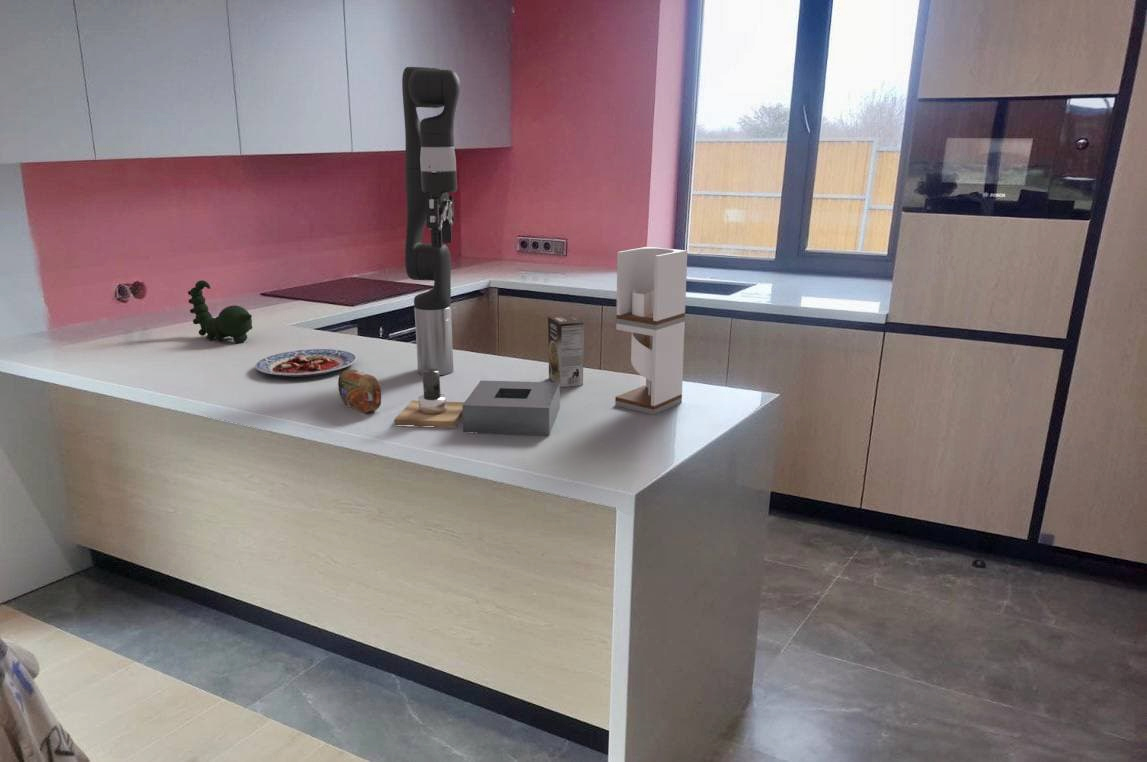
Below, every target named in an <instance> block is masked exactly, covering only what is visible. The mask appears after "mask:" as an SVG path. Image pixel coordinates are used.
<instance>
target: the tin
mask: <svg viewBox="0 0 1147 762" xmlns="http://www.w3.org/2000/svg"><path fill="white" fill-rule="evenodd" d="M337 382H338V383H337V387H338V393H339V396H340V399H341V401H342V403H343V404H344V405H346V404H347V405H349V406H351V407H350V408H352V407H353V408H352V409H354V408H356V409H355V410H357V409H358V410H357V411H359V410H360V411H359V412H361V411H363V412H362V413H364V412H365V414H366V413H370V412H375V411H377V410H378V409H379V408H380V406H381V404H382V389H381V385H380V383H379V381H378V379H377V378H376V377H375V376H374V375H371V374H369V373H366V372H363V371H359V370H357V369H347V370H346V369H344V370H342V371H340V374H339V376H338V381H337ZM347 405H346V406H347ZM349 406H348V407H349Z"/></svg>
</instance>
